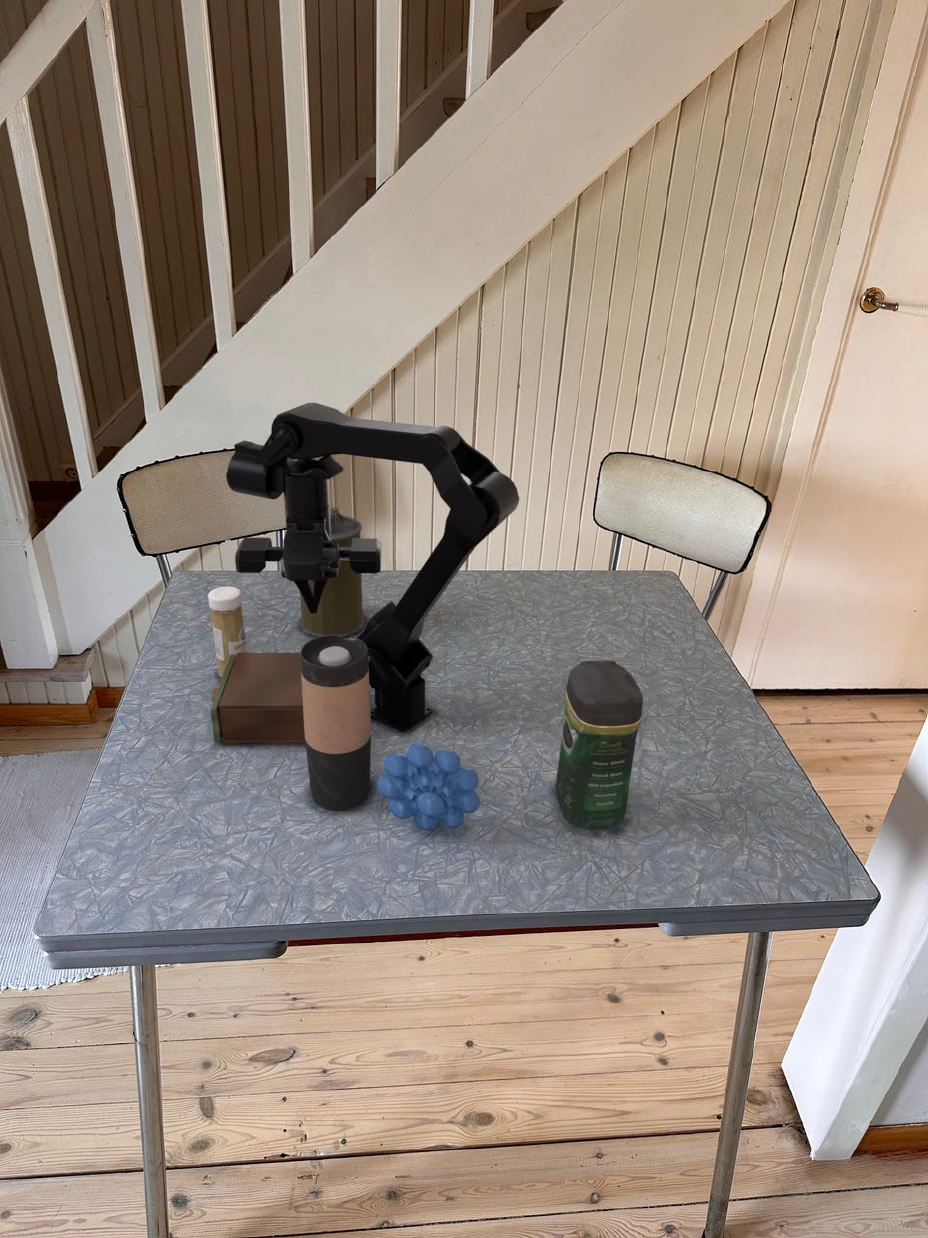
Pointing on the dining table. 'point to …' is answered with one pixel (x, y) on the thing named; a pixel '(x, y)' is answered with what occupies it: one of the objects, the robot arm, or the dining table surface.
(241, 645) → the sprinkles bottle
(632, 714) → the coffee jar
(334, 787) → the travel mug
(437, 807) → the blue knobby toy
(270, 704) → the drawer unit
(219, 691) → the drawer
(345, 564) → the canister
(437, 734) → the dining table surface
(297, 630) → the dining table surface
